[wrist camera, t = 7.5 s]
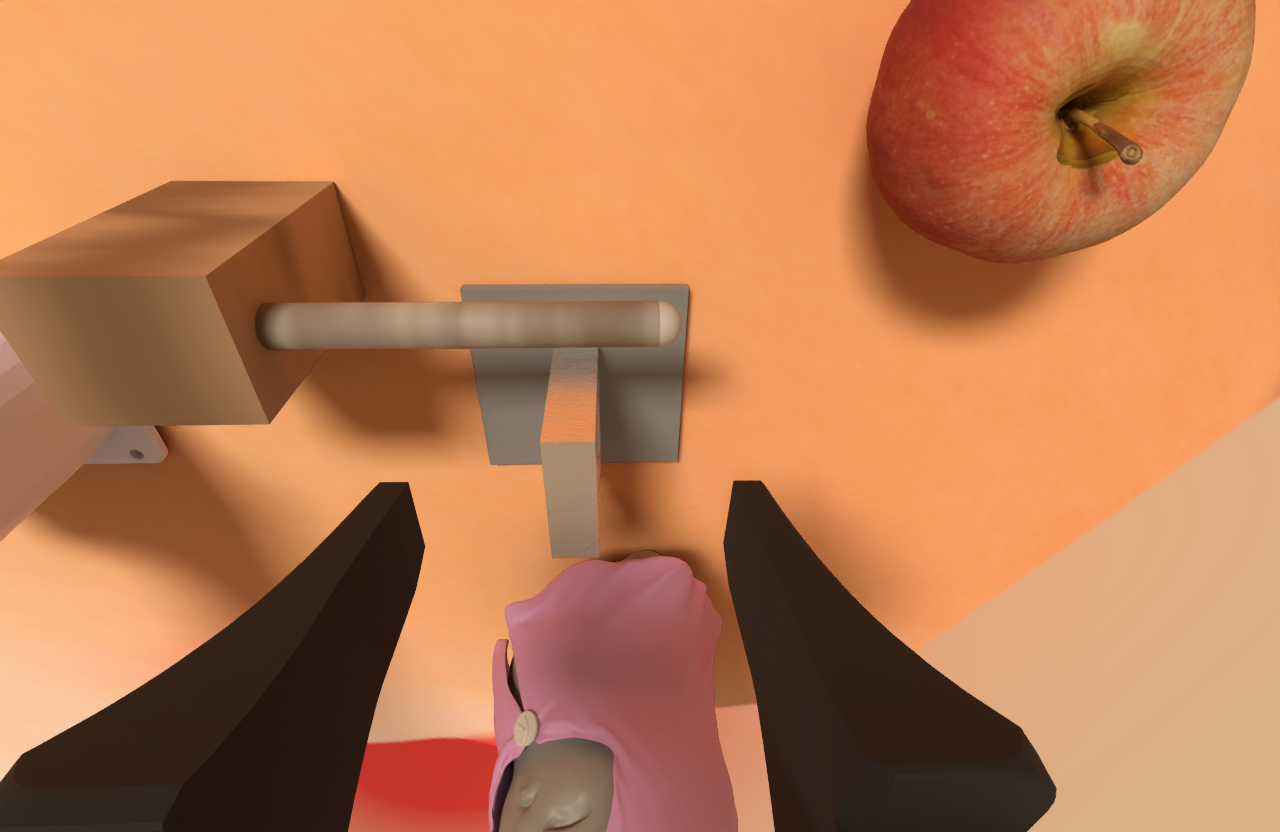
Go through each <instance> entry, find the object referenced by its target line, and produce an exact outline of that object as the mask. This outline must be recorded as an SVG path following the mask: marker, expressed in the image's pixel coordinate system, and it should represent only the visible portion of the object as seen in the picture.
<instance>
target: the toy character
mask: <svg viewBox="0 0 1280 832" xmlns="http://www.w3.org/2000/svg"><path fill="white" fill-rule="evenodd" d="M706 592H707V586H706V584H705V583H703V582H702V581H699V580H697V579H695V578H694V577H693V572H692V570H691V568H690V567H689V566H688V564H687V563H686V562H685V561H682V560H680V559H679V558H675V557H670V556H661V555H660V554H658V553H656V552H654V551H640V552H637V553H634V554H632V555H630V556H628V557H627V558H625V559H624V560H622V561H620V562H609V561H603V560H597V559H593V560H587V561H584V562H580V563H578V564H575V565H572V566H570V567H568V568H567V569H566V570H564V571H563V572H562V573H561V574H560V575H558V576H557V577H556V578H555V579H554V580H553V581H552V582H551V583H550V584H549V585H548V586H547V587H546V588H545V589H544V590H543V591H542V592H541V593H539V594H538V595H537V596H535V597H534V598H532V599H529V600H526V601H521V602H515V603H511V604H509V605H508V606H507V607H506V608H505V618H506V622H507V625H508V630H509V636H510V640H511V643H512V649H513V658H512V661H511V665H510V666H509V664H508V659H507V647H508V643H509V641H508V639H500V640H497V642H496V645H495V649H494V654H493V661H492V680H493V695H494V730H495V738H496V744H497V750H498V754H499V757H498V759H497V762H496V765H495V768H494V773H493V777H492V783H491V789H490V792H489V793H490V794H489V810H488V815H489V825H490V832H738V818H737V812H736V808H735V804H734V796H733V790H732V785H731V782H730V777H729V774H728V770H727V767H726V764H725V761H724V758H723V754H722V750H721V746H720V742H719V737H718V729H717V721H716V714H715V685H714V669H713V660H714V656H715V652H716V648H717V644H718V640H719V636H720V633H721V629H722V624H723V621H722V618H721V615H720V614H719V613H717V612H716V610H715V608H714V606H713V604H712V601H711V599H710V598H709V597H708V596H707V595H706Z"/></svg>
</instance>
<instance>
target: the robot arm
mask: <svg viewBox="0 0 1280 832" xmlns="http://www.w3.org/2000/svg"><path fill="white" fill-rule="evenodd" d="M141 452H142V453H141ZM167 456H168V449H167V447H166V446H165V444H164V442H163V440H162V439H161V437H160V435H159V433H158V432H157V430H156V428H155V426H98V427H66V426H65V425H64V423H63V422H62V420H61V419H60V418H59V416H58V415H57V413H56V412H55V410H54V409H53V407H52V406H51V404H50V403H49V401H48V400H47V398H46V397H45V396H44V394H43V393H42V391H41V390H40V388H39V387H38V385H37V384H36V382H35V381H34V379H33V378H32V376H31V375H30V374H29V372H28V371H27V369H26V368H25V366H24V365H23V363H22V362H21V360H20V359H19V357H18V356H17V355H16V353H15V352H14V350H13V349H12V347H11V346H10V344H9V343H8V341H7V340H6V338H5V337H4V335H3V334H2V333H1V331H0V542H1V541H2V540H3V539H4V538H5V537H6V536H7V535H8V534H9V533H10V532H11V531H12V530H14V529H15V528H16V527H17V526H18V525H19V524H20V523H21V522H22V521H23V520H24V519H25V518H27V517H28V516H29V515H30V514H31V513H32V512H33V511H34V510H35V509H36V508H37V507H38V506H40V505H41V504H42V503H43V502H44V501H45V500H46V499H47V498H48V497H49V496H50V495H51V494H53V493H54V492H55V491H56V490H57V489H58V488H59V487H60V486H61V485H62V484H63V483H64V482H65V481H67V480H68V479H69V478H70V477H71V476H72V475H73V474H74V473H75V472H76V471H77V470H78V469H80V468H81V467H82V466H83V465H84V464H127V463H159V462H161V461H163V460H164V459H165V458H166V457H167ZM723 544H724V552H725V560H726V568H727V575H728V583H729V588H730V592H731V596H732V600H733V604H734V608H735V612H736V616H737V620H738V624H739V628H740V632H741V636H742V640H743V644H744V647H745V651H746V655H747V659H748V663H749V667H750V671H751V675H752V679H753V684H754V689H755V694H756V699H757V706H758V712H759V718H760V725H761V732H762V738H763V745H764V752H765V759H766V766H767V773H768V781H769V788H770V796H771V804H772V812H773V820H774V828H775V832H1027V831H1028V830H1029V829H1030V828H1031V827H1032V826H1033V825H1034V824H1035V823H1036V822H1037V821H1038V820H1039V819H1040V818H1041V817H1042V816H1043V815H1044V814H1045V813H1046V812H1047V811H1048V810H1049V808H1050V807H1051V805H1052V804H1053V803H1054V801H1055V798H1056V787H1055V785H1054V783H1053V781H1052V779H1051V778H1050V776H1049V774H1048V772H1047V770H1046V768H1045V766H1044V764H1043V763H1042V761H1041V759H1040V757H1039V755H1038V754H1037V752H1036V750H1035V749H1034V747H1033V746H1032V744H1031V743H1030V742H1029V740H1028V738H1027V737H1026V735H1025V734H1024V732H1023V730H1022V729H1021V728H1020V727H1019V726H1018V725H1016V724H1014V723H1013V722H1011V721H1010V720H1008V719H1007V718H1005V717H1004V716H1002V715H1001V714H999V713H998V712H996V711H995V710H993V709H992V708H990V707H989V706H987V705H986V704H984V703H983V702H981V701H979V700H978V699H976V698H975V697H973V696H972V695H970V694H969V693H967V692H966V691H965V690H963V689H962V688H960V687H959V686H958V685H956V684H955V683H954V682H952V681H951V680H950V679H948V678H947V677H945V676H944V675H943V674H941V673H940V672H939V671H937V670H936V669H935V668H933V667H932V666H931V665H930V664H928V663H927V662H926V661H925V660H923V659H922V658H921V657H920V656H919V655H917V654H916V653H915V652H914V651H912V650H911V649H910V648H909V647H908V646H906V645H905V644H904V643H903V642H902V641H900V640H899V639H898V638H897V637H896V636H894V635H893V634H892V633H891V632H890V631H889V630H888V629H887V628H885V627H884V626H883V625H882V624H881V623H880V622H879V621H878V620H877V619H876V618H875V617H873V616H872V615H871V614H870V613H869V612H868V611H867V610H866V609H865V608H864V607H863V606H862V605H861V604H860V603H859V602H858V601H857V600H856V599H855V598H854V597H853V596H852V595H851V594H850V593H849V592H848V590H847V589H846V588H845V587H844V586H843V585H842V584H841V583H840V582H839V581H838V580H837V578H836V577H835V576H834V575H833V574H832V573H831V572H830V571H829V569H828V568H827V567H826V566H825V565H824V564H823V562H822V561H821V560H820V559H819V558H818V557H817V555H816V554H815V553H814V552H813V550H812V549H811V548H810V547H809V545H808V544H807V543H806V542H805V540H804V539H803V538H802V537H801V535H800V534H799V533H798V531H797V530H796V529H795V527H794V526H793V525H792V523H791V522H790V521H789V519H788V518H787V516H786V515H785V514H784V512H783V511H782V510H781V508H780V507H779V505H778V504H777V502H776V501H775V500H774V498H773V497H772V495H771V494H770V492H769V491H768V489H767V488H766V486H765V485H764V484H763V483H762V482H761V481H733V487H732V494H731V500H730V506H729V512H728V518H727V524H726V531H725V537H724V543H723ZM424 549H425V544H424V540H423V537H422V533H421V529H420V525H419V521H418V518H417V514H416V510H415V506H414V502H413V498H412V495H411V491H410V487H409V483H408V482H380V483H379V484H378V485H377V486H376V487H375V488H374V489H373V490H372V491H371V492H370V493H369V494H368V495H367V496H366V497H365V498H364V499H363V500H362V501H361V502H360V503H359V504H358V506H357V507H356V508H355V509H354V510H353V511H352V512H351V513H350V514H349V515H348V516H347V517H346V518H345V519H344V520H343V521H342V522H341V523H340V525H339V526H338V527H337V528H336V529H335V530H334V531H333V532H332V533H331V534H330V535H329V536H328V537H327V538H326V539H325V540H324V541H323V542H322V543H321V544H320V545H319V546H318V547H317V548H316V549H315V550H314V551H313V552H312V553H311V554H310V555H309V556H308V557H307V558H306V559H305V560H304V561H303V562H302V563H301V564H299V565H298V566H297V567H296V568H295V569H294V570H293V571H292V572H291V573H290V574H289V575H288V576H286V577H285V578H284V579H283V580H282V581H281V582H280V583H279V584H278V585H277V586H276V587H275V588H273V589H272V590H271V591H270V592H269V593H268V594H267V595H265V596H264V597H263V598H262V599H261V600H260V601H258V602H257V603H256V604H255V605H254V606H252V607H251V608H250V609H249V610H247V611H246V612H245V613H244V614H242V615H241V616H240V617H239V618H237V619H236V620H235V621H234V622H232V623H231V624H230V625H229V626H227V627H226V628H225V629H223V630H222V631H221V632H219V633H218V634H217V635H215V636H214V637H212V638H211V639H209V640H208V641H207V642H205V643H204V644H202V645H201V646H200V647H198V648H197V649H195V650H194V651H193V652H191V653H190V654H188V655H187V656H186V657H184V658H183V659H181V660H180V661H178V662H177V663H176V664H174V665H173V666H171V667H170V668H168V669H167V670H165V671H164V672H162V673H161V674H159V675H158V676H156V677H154V678H153V679H151V680H150V681H148V682H147V683H145V684H144V685H142V686H141V687H139V688H137V689H136V690H134V691H132V692H131V693H129V694H128V695H126V696H124V697H123V698H121V699H119V700H118V701H116V702H115V703H113V704H111V705H110V706H108V707H106V708H104V709H103V710H101V711H99V712H98V713H96V714H94V715H93V716H91V717H89V718H87V719H85V720H84V721H82V722H80V723H78V724H76V725H75V726H73V727H71V728H69V729H67V730H66V731H64V732H62V733H60V734H58V735H57V736H55V737H53V738H51V739H49V740H48V741H46V742H44V743H42V744H40V745H39V746H37V747H35V748H33V749H31V750H29V751H27V752H25V753H24V754H22V755H21V756H20V758H19V759H18V760H17V761H16V763H15V764H14V765H13V766H12V768H11V769H10V770H9V772H8V773H7V774H6V775H5V777H4V778H3V779H2V781H1V782H0V832H348V828H349V822H350V818H351V813H352V808H353V803H354V798H355V793H356V789H357V784H358V780H359V775H360V771H361V766H362V762H363V757H364V753H365V749H366V745H367V741H368V737H369V732H370V728H371V724H372V720H373V716H374V712H375V708H376V704H377V701H378V698H379V694H380V691H381V688H382V685H383V682H384V679H385V676H386V673H387V670H388V668H389V665H390V662H391V659H392V656H393V654H394V651H395V648H396V645H397V642H398V639H399V637H400V634H401V631H402V628H403V625H404V623H405V620H406V617H407V614H408V611H409V608H410V605H411V602H412V599H413V597H414V594H415V591H416V587H417V582H418V578H419V574H420V569H421V564H422V559H423V554H424Z"/></svg>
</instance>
